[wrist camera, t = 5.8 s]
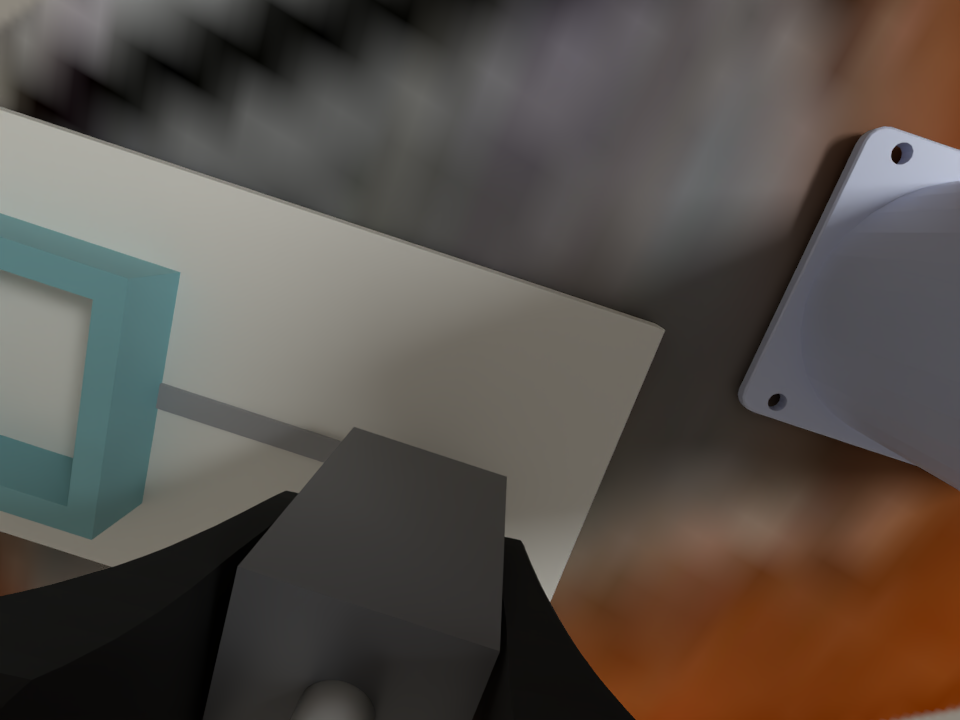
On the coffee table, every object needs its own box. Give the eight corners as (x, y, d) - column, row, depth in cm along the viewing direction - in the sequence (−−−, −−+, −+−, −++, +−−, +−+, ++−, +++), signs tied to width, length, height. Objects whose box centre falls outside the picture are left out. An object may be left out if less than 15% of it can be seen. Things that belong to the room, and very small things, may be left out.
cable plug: (506, 476, 13) (497, 699, 7) (459, 605, 14) (414, 900, 8) (353, 426, 13) (204, 604, 7) (317, 559, 14) (159, 819, 8)
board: (655, 323, 15) (689, 345, 12) (511, 669, 18) (510, 753, 15) (-80, 80, 15) (-229, 42, 12) (-93, 476, 18) (-211, 524, 15)
